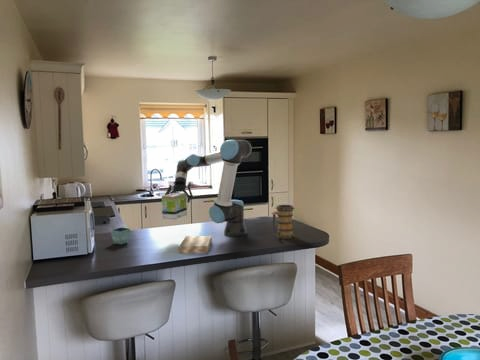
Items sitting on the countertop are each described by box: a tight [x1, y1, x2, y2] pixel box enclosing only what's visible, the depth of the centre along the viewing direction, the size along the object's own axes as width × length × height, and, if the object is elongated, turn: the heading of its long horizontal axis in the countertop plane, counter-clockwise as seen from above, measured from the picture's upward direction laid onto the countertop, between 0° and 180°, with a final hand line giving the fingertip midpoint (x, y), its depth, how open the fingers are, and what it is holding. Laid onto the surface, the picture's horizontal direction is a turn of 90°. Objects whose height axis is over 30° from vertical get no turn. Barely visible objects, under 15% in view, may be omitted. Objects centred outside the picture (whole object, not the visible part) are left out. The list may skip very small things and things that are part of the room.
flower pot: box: [110, 226, 131, 245], centre depth 233 cm, size 9×9×9 cm
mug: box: [271, 204, 296, 240], centre depth 239 cm, size 13×17×20 cm
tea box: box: [161, 192, 188, 221], centre depth 235 cm, size 15×10×15 cm, turn 161°
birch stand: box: [178, 235, 213, 254], centre depth 221 cm, size 16×22×4 cm
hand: (177, 206), depth 238 cm, fingers closed on tea box, 11 cm apart
